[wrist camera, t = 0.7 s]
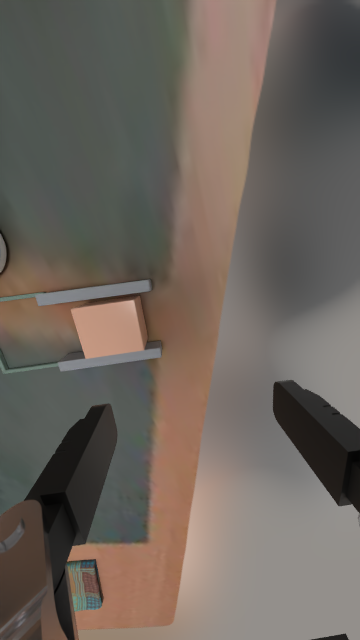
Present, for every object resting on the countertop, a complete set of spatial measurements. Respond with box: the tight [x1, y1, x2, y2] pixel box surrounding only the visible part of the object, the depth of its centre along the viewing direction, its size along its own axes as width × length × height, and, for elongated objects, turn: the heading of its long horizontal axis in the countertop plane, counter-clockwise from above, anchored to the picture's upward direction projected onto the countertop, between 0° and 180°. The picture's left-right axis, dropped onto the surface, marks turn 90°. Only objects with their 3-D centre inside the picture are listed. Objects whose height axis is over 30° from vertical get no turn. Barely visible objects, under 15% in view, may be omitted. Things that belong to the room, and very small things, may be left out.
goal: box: [0, 292, 59, 374], centre depth 28 cm, size 12×10×1 cm
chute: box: [35, 279, 162, 371], centre depth 27 cm, size 11×15×3 cm
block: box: [71, 295, 148, 359], centre depth 26 cm, size 7×8×5 cm
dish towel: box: [67, 559, 103, 612], centre depth 43 cm, size 17×23×2 cm
